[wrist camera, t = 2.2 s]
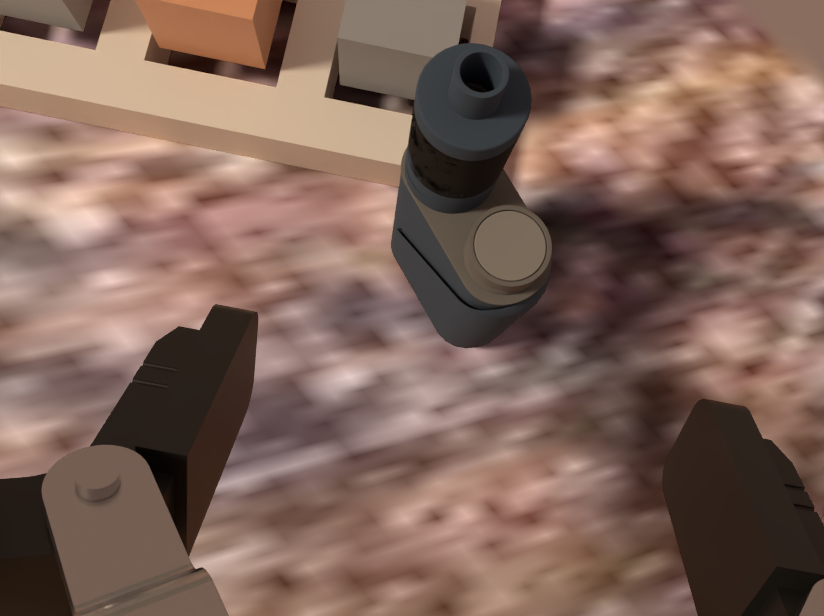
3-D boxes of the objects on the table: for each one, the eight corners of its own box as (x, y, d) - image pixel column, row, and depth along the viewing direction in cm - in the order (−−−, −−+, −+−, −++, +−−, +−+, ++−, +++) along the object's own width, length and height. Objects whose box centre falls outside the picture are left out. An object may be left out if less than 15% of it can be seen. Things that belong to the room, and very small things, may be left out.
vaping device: (440, 200, 26) (506, -10, 14) (515, 328, 25) (652, 221, 13) (377, 233, 25) (388, 45, 14) (451, 364, 25) (532, 287, 13)
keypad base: (497, 1, 27) (507, -34, 25) (460, 199, 26) (468, 179, 24) (20, -100, 27) (-7, -143, 25) (-47, 96, 25) (-82, 67, 23)
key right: (462, 12, 25) (474, -42, 22) (444, 106, 24) (454, 62, 21) (361, -9, 25) (361, -66, 22) (339, 84, 24) (337, 37, 21)
